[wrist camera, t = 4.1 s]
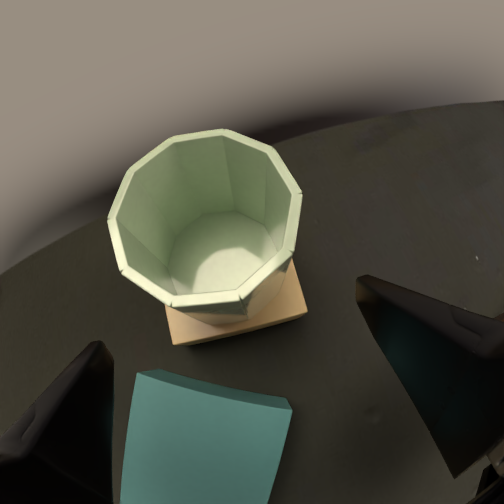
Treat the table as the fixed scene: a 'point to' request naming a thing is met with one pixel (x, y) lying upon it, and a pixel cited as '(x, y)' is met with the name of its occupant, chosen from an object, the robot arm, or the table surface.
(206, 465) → the box
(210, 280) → the pale green faceted cup
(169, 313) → the tan block
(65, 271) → the table surface
